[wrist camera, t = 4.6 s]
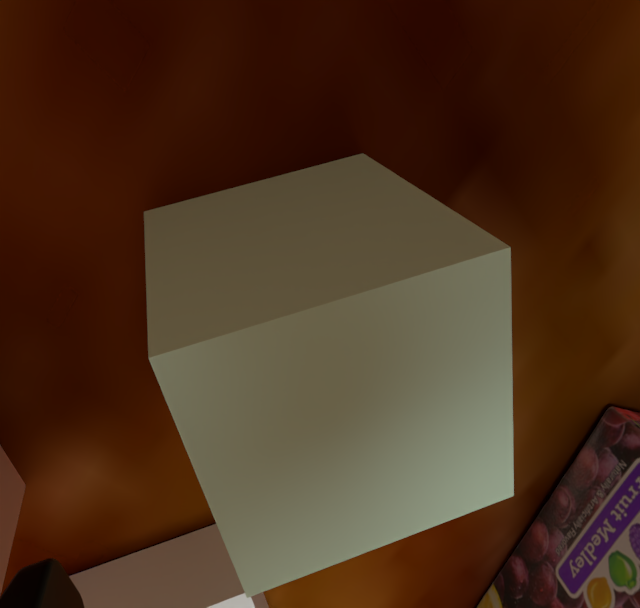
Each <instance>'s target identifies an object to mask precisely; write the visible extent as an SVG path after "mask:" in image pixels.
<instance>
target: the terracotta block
mask: <svg viewBox="0 0 640 608" xmlns="http://www.w3.org/2000/svg"><path fill="white" fill-rule="evenodd" d="M25 487H26V485H25V483H24V482H23V480H22V478H21V477H20V475H19V474H18V472H17V470H16V469H15V467H14V466H13V464H12V463H11V461H10V459H9V458H8V456H7V455H6V453H5V452H4V450H3V448H2V447H1V445H0V595H1V591H2V586H3V582H4V578H5V574H6V569H7V565H8V561H9V556H10V552H11V548H12V543H13V539H14V535H15V530H16V526H17V522H18V518H19V513H20V509H21V505H22V500H23V496H24V492H25Z"/></svg>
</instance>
